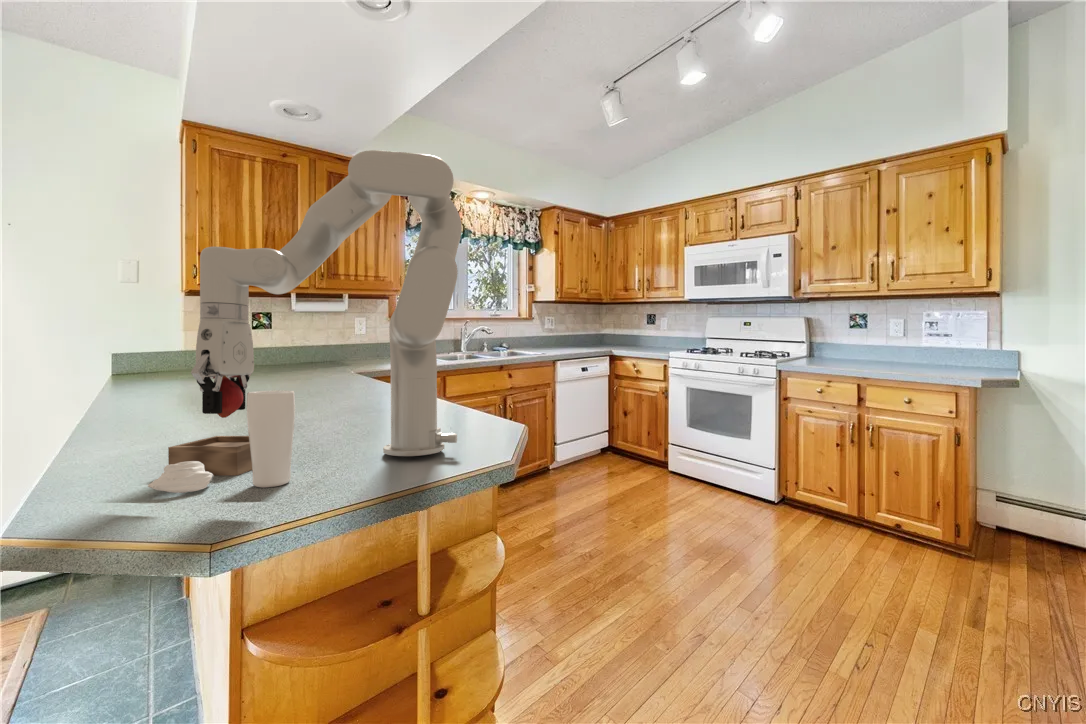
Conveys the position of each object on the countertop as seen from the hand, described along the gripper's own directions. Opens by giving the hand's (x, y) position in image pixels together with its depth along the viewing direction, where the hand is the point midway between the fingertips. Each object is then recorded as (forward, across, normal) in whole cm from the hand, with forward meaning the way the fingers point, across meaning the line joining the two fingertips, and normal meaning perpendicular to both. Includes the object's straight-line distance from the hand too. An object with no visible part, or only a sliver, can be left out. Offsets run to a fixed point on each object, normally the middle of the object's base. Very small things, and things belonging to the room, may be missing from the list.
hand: (224, 410), depth 87 cm
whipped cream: (+11, -16, -4) cm, 20 cm away
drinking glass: (+11, -12, -16) cm, 22 cm away
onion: (+2, 0, 0) cm, 2 cm away
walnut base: (+11, 0, 0) cm, 11 cm away
